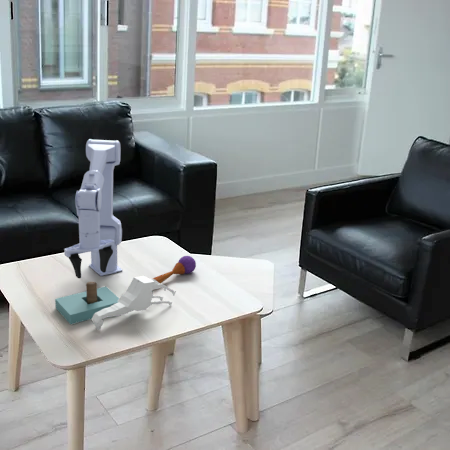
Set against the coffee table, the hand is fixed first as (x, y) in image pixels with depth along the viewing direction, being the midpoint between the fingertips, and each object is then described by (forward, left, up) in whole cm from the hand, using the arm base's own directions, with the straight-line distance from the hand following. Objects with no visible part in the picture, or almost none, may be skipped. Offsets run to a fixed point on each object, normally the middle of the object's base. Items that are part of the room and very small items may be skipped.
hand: (90, 274), depth 183 cm
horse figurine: (+11, +8, -11) cm, 17 cm away
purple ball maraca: (-4, +30, -11) cm, 32 cm away
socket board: (+2, -2, -10) cm, 11 cm away
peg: (+2, -1, -10) cm, 10 cm away
